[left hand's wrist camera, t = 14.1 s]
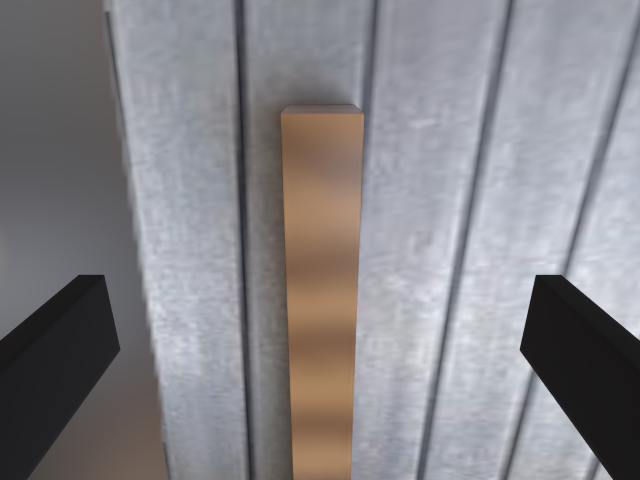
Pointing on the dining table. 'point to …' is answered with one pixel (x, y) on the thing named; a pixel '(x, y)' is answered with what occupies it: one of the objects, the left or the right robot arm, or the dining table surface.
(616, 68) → the dining table surface
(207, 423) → the dining table surface
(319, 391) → the bar
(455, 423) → the dining table surface
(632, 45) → the dining table surface
